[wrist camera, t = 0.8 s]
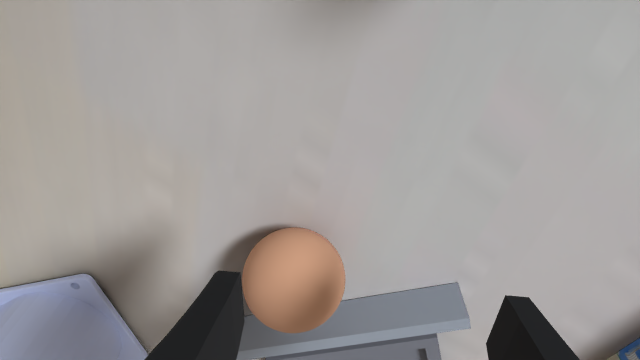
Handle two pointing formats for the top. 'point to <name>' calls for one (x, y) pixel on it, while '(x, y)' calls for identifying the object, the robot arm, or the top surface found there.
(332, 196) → the top surface
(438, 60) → the top surface
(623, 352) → the stack of blocks
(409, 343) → the tray
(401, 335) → the low wall
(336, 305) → the ball
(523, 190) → the top surface
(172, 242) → the top surface
